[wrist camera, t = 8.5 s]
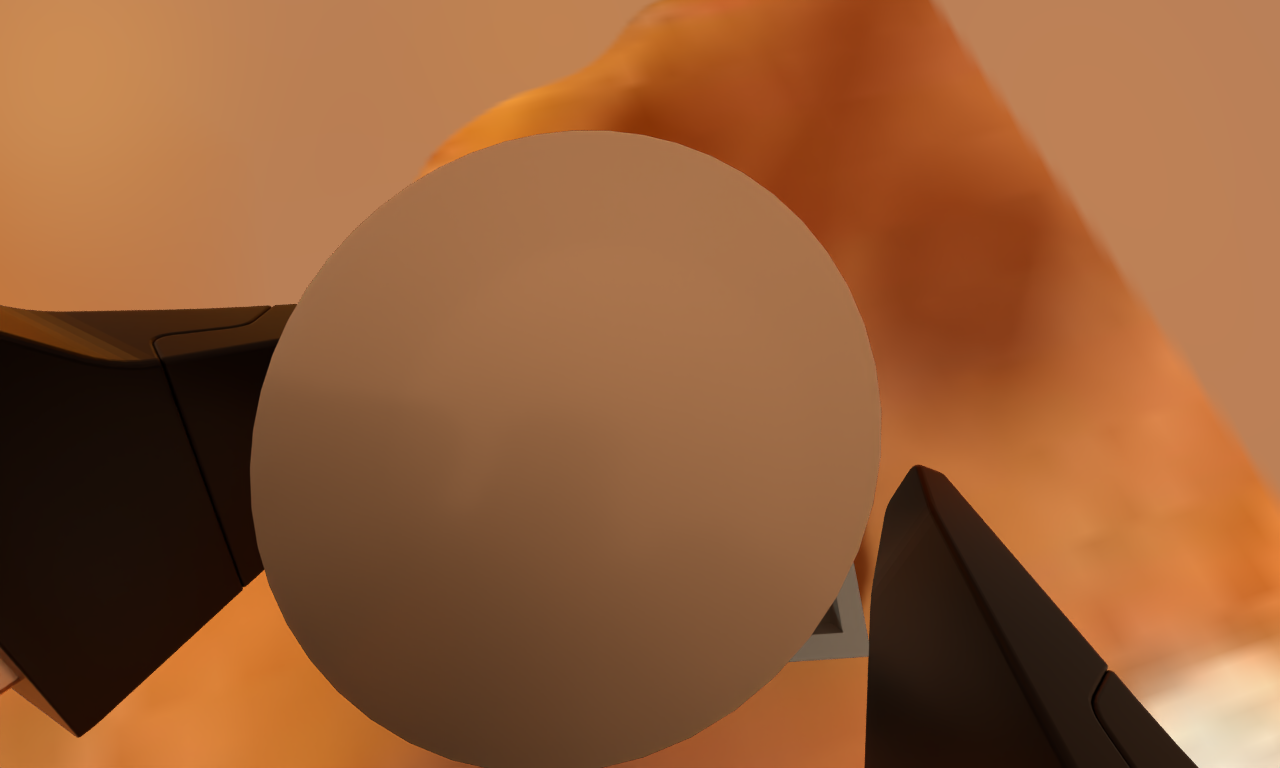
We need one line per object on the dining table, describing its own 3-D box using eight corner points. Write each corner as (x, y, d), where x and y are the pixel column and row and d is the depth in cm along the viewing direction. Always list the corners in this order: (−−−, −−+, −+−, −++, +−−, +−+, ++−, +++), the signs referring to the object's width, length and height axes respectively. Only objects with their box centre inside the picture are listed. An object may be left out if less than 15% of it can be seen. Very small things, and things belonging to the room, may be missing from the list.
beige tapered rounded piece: (789, 536, 16) (1043, 556, 3) (640, 613, 16) (342, 915, 3) (709, 393, 17) (678, 42, 5) (573, 464, 17) (198, 293, 5)
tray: (851, 640, 15) (871, 656, 14) (547, 661, 16) (525, 679, 14) (797, 345, 18) (807, 323, 16) (535, 378, 19) (516, 361, 17)
